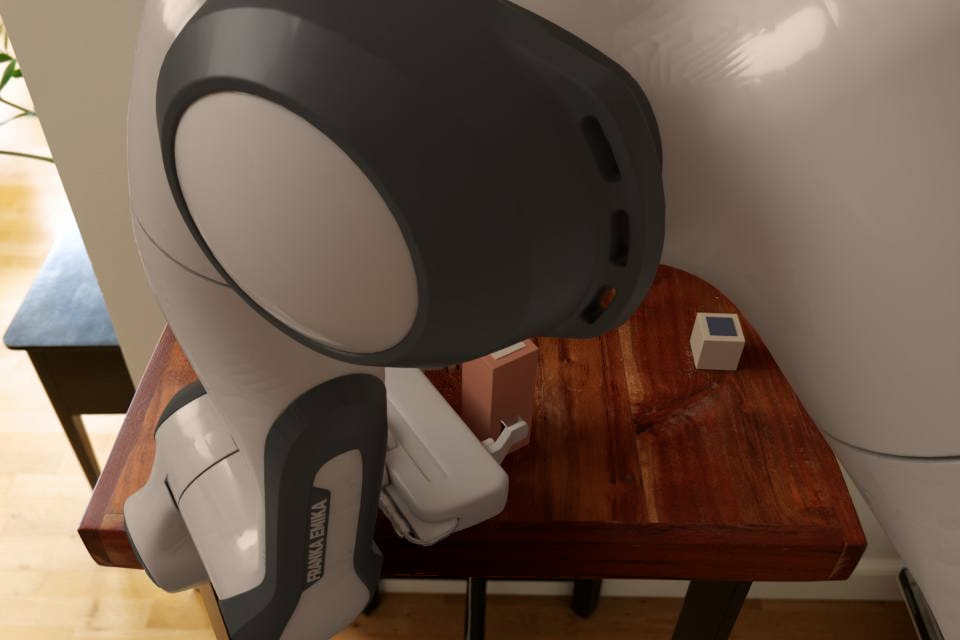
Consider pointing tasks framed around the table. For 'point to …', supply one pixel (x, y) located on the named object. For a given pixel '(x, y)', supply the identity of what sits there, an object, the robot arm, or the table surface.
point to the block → (717, 341)
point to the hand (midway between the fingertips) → (491, 388)
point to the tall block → (499, 390)
